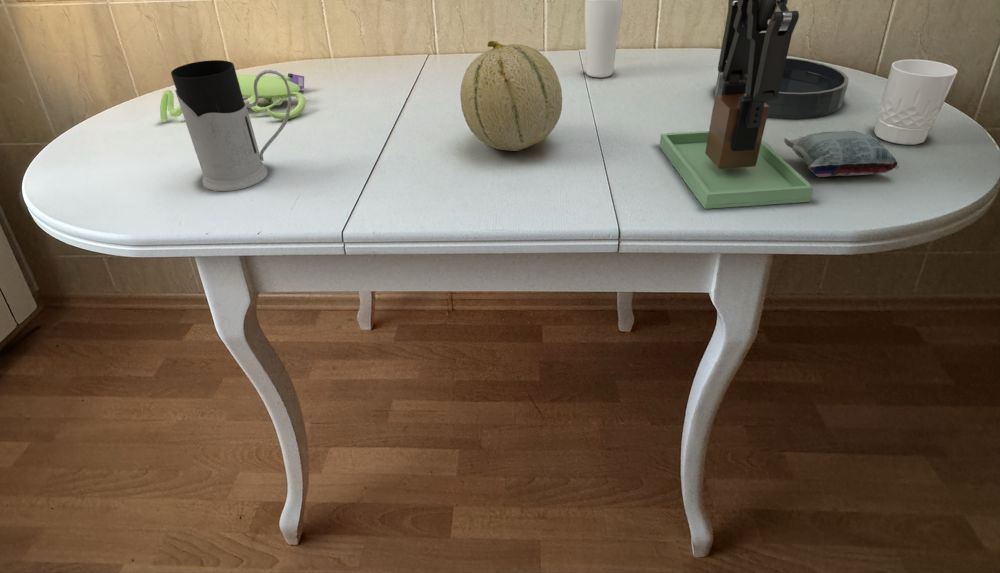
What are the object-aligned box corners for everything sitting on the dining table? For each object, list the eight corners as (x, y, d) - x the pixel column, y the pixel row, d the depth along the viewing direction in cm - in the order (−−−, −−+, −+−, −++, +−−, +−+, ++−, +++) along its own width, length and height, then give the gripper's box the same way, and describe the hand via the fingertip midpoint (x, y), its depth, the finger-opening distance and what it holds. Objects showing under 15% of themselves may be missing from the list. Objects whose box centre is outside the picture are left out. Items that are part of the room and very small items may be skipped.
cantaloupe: (555, 169, 86) (558, 58, 77) (453, 164, 88) (444, 56, 80) (566, 129, 98) (569, 29, 89) (475, 126, 100) (469, 28, 91)
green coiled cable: (195, 88, 121) (186, 58, 117) (329, 86, 119) (323, 56, 115) (145, 123, 106) (132, 90, 102) (297, 122, 104) (290, 89, 101)
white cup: (904, 150, 88) (930, 79, 82) (857, 132, 93) (879, 64, 88) (942, 140, 90) (971, 70, 84) (894, 122, 96) (918, 56, 90)
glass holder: (202, 170, 89) (167, 64, 81) (303, 153, 93) (279, 50, 85) (202, 196, 83) (163, 83, 74) (310, 176, 87) (285, 67, 78)
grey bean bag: (779, 156, 87) (788, 122, 84) (864, 154, 87) (876, 120, 84) (804, 185, 80) (815, 149, 77) (897, 182, 80) (911, 147, 77)
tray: (659, 146, 91) (661, 133, 90) (746, 141, 92) (749, 128, 91) (704, 209, 76) (707, 194, 75) (809, 202, 76) (814, 187, 75)
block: (740, 151, 85) (752, 93, 80) (755, 166, 81) (769, 106, 76) (704, 153, 85) (715, 95, 80) (718, 168, 81) (729, 108, 76)
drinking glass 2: (574, 74, 120) (577, -10, 111) (597, 66, 124) (601, -16, 115) (601, 82, 116) (607, -5, 107) (624, 73, 120) (631, -11, 111)
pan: (805, 76, 115) (811, 54, 113) (866, 114, 99) (874, 89, 97) (698, 82, 114) (702, 60, 112) (742, 122, 98) (747, 97, 96)
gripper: (711, -70, 75) (683, 117, 88) (777, -49, 60) (732, 171, 74) (772, -73, 75) (735, 114, 89) (852, -52, 61) (793, 168, 74)
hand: (734, 140), depth 81 cm, fingers closed on block, 5 cm apart
